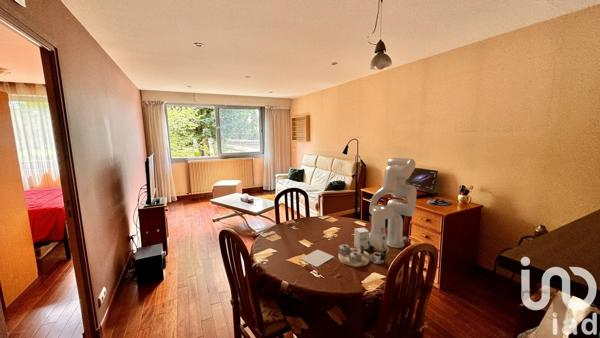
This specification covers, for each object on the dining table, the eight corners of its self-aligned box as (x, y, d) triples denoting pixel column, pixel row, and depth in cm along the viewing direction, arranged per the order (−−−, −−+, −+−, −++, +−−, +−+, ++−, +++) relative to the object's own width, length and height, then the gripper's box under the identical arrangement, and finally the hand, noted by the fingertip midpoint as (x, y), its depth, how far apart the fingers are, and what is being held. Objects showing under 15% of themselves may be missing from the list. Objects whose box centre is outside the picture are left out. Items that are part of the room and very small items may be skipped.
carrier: (356, 248, 160) (356, 238, 159) (376, 261, 143) (376, 250, 142) (332, 254, 152) (332, 244, 151) (350, 269, 135) (350, 258, 134)
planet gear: (377, 257, 148) (377, 251, 148) (386, 262, 142) (386, 256, 141) (368, 259, 145) (368, 253, 145) (376, 265, 139) (377, 258, 138)
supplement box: (359, 250, 157) (359, 232, 155) (353, 245, 164) (354, 228, 162) (369, 249, 159) (369, 231, 157) (363, 244, 166) (363, 227, 164)
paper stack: (347, 263, 142) (347, 262, 142) (319, 281, 125) (319, 280, 125) (317, 250, 159) (317, 249, 159) (289, 264, 142) (289, 263, 142)
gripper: (394, 232, 134) (392, 261, 136) (372, 223, 150) (371, 249, 152) (384, 235, 131) (382, 264, 133) (363, 225, 147) (362, 251, 149)
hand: (376, 256), depth 143 cm, fingers open, 9 cm apart
